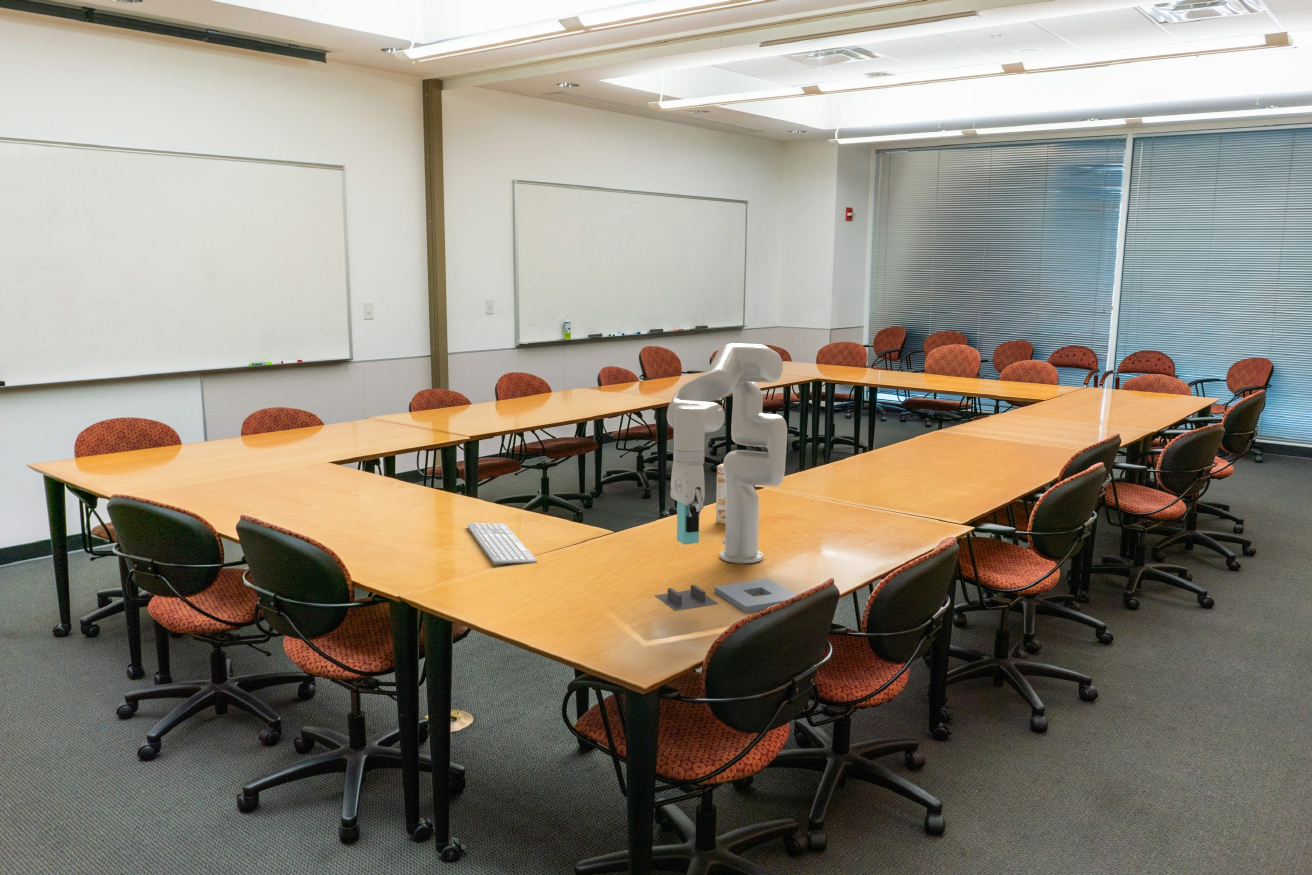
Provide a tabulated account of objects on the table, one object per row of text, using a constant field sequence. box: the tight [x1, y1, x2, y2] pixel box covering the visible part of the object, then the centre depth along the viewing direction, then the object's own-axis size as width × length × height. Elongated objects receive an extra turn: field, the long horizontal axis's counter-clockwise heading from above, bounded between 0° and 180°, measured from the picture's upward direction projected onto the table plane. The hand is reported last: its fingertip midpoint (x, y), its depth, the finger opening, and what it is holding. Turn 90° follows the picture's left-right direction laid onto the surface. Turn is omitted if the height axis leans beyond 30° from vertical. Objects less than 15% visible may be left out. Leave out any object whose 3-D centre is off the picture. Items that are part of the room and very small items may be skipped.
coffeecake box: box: [715, 463, 754, 525], centre depth 310 cm, size 15×7×20 cm, turn 148°
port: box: [713, 578, 798, 614], centre depth 232 cm, size 16×16×2 cm
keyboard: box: [467, 522, 538, 566], centre depth 281 cm, size 44×12×2 cm, turn 21°
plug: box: [676, 501, 700, 545], centre depth 227 cm, size 4×4×10 cm
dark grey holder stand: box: [654, 584, 720, 612], centre depth 230 cm, size 12×12×4 cm
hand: (688, 528), depth 227 cm, fingers closed on plug, 4 cm apart
